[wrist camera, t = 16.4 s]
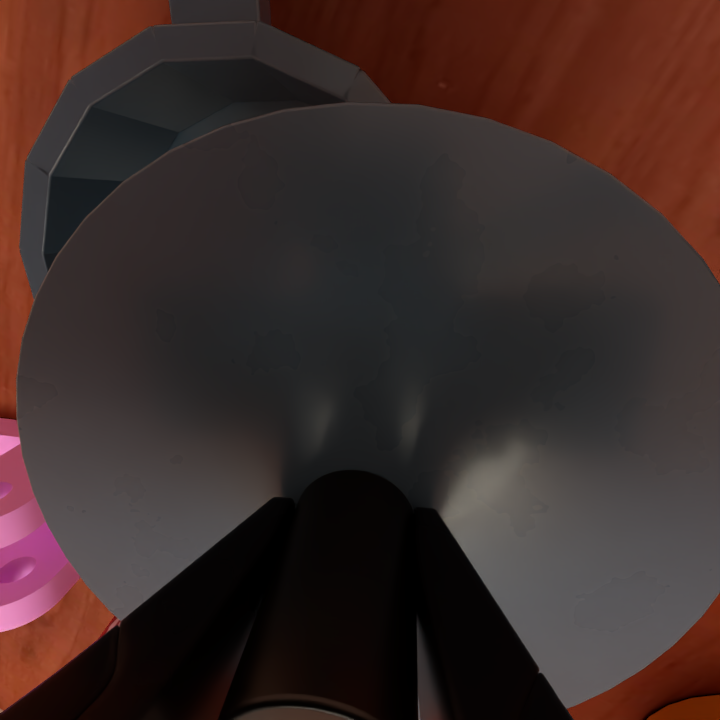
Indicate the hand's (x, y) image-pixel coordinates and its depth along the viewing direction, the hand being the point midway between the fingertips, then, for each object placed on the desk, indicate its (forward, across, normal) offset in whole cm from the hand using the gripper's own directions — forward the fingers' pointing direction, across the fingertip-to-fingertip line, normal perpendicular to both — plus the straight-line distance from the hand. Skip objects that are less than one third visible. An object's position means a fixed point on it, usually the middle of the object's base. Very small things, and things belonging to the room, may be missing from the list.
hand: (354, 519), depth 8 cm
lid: (+1, 0, 0) cm, 1 cm away
